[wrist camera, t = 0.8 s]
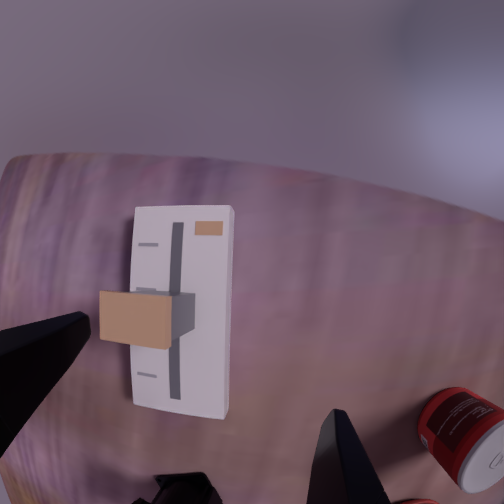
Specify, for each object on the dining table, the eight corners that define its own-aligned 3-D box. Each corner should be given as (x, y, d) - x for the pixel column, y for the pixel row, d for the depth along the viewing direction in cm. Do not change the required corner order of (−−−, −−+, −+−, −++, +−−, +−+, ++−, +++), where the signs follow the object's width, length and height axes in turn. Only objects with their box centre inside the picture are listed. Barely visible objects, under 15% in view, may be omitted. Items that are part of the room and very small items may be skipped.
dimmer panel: (228, 408, 26) (223, 419, 23) (144, 395, 27) (133, 404, 24) (234, 211, 28) (229, 205, 25) (146, 212, 29) (135, 206, 26)
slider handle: (199, 330, 24) (165, 349, 17) (147, 325, 24) (100, 339, 17) (200, 292, 24) (165, 296, 17) (147, 288, 25) (99, 290, 17)
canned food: (453, 445, 23) (498, 489, 12) (402, 442, 24) (443, 498, 13) (481, 388, 23) (539, 419, 12) (432, 380, 24) (491, 418, 13)
